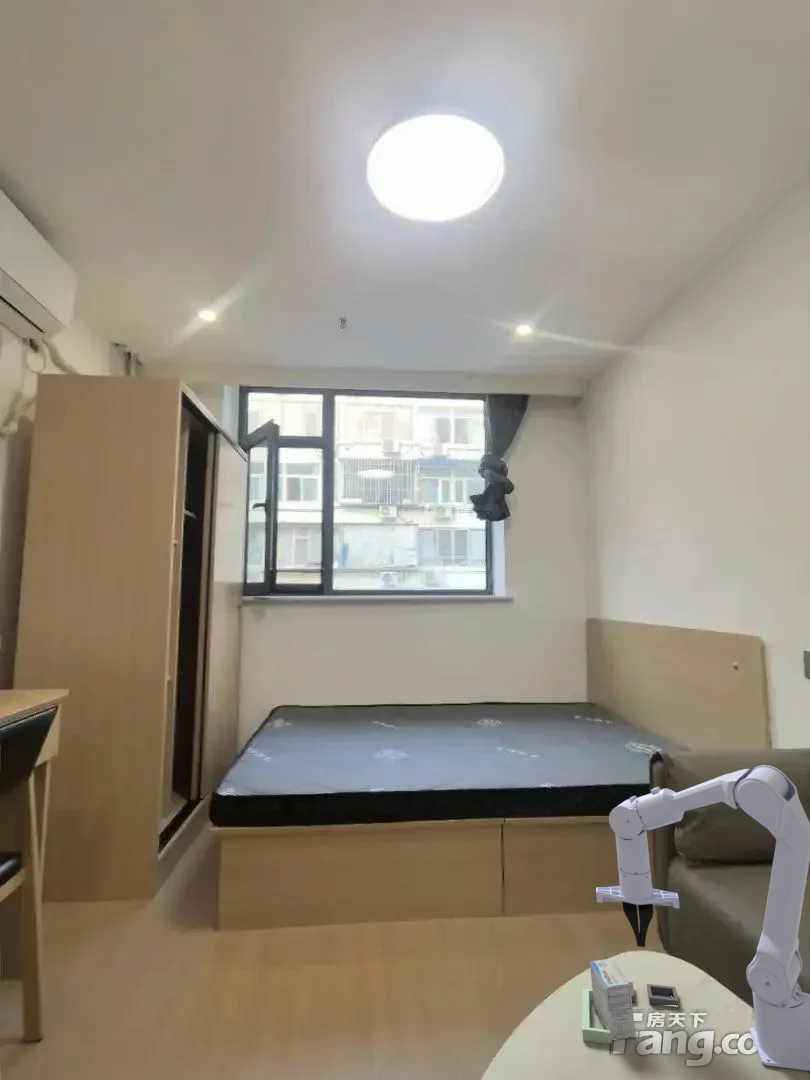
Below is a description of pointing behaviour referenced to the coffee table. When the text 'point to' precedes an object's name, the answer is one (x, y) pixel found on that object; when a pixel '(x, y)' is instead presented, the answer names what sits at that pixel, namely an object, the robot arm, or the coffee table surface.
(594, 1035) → the mint green u-bracket
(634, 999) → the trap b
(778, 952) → the robot arm
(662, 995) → the grey flat rectangular tray
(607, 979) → the medicine box
